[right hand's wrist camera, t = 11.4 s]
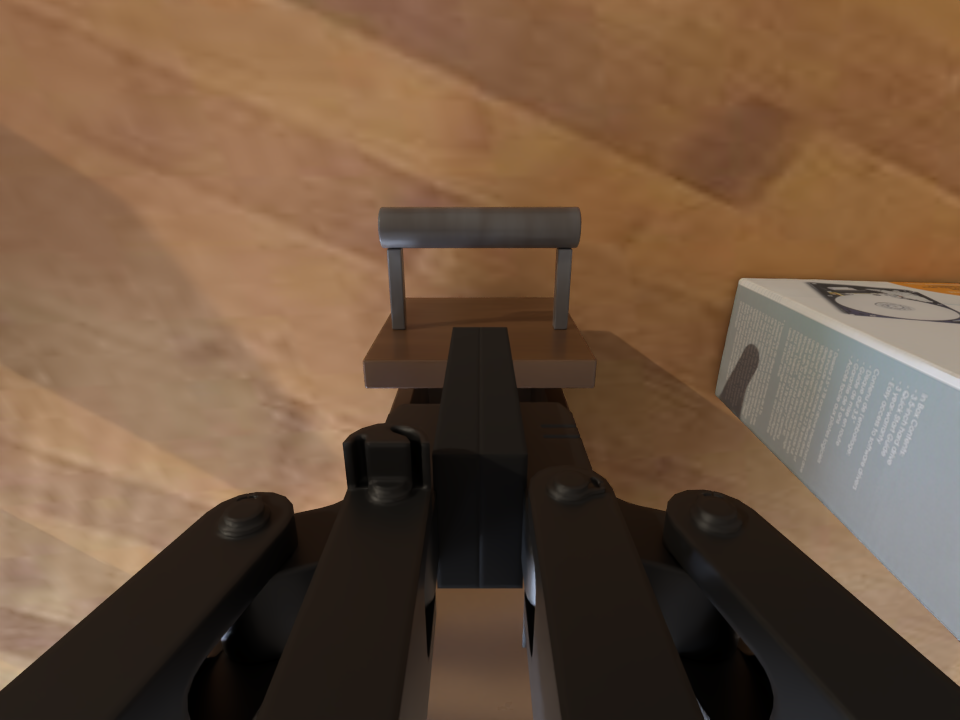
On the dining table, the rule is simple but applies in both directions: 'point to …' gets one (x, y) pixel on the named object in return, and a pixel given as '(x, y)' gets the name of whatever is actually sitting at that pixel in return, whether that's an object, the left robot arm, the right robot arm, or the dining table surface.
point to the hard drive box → (861, 412)
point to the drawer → (479, 304)
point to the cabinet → (479, 656)
